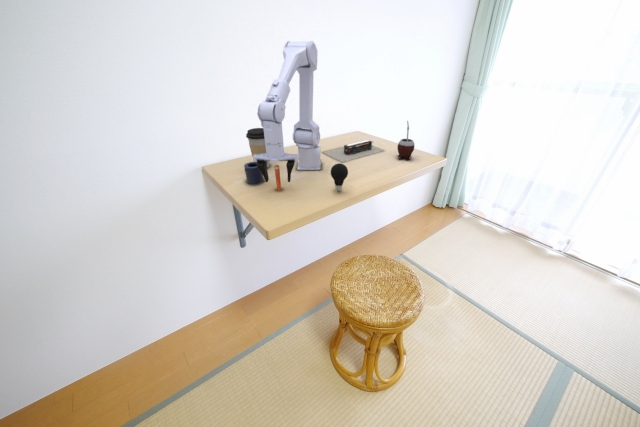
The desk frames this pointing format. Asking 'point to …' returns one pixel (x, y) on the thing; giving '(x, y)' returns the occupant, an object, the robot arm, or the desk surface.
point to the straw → (277, 177)
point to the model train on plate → (353, 151)
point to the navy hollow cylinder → (253, 173)
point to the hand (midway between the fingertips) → (278, 180)
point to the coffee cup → (257, 142)
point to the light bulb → (339, 175)
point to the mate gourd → (405, 147)
